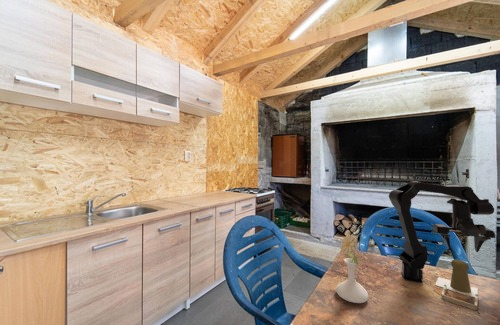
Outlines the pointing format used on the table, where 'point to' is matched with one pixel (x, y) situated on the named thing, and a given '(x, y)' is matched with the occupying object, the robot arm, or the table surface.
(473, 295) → the white flat panel
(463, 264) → the cork
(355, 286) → the flower in vase
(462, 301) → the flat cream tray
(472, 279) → the table surface
